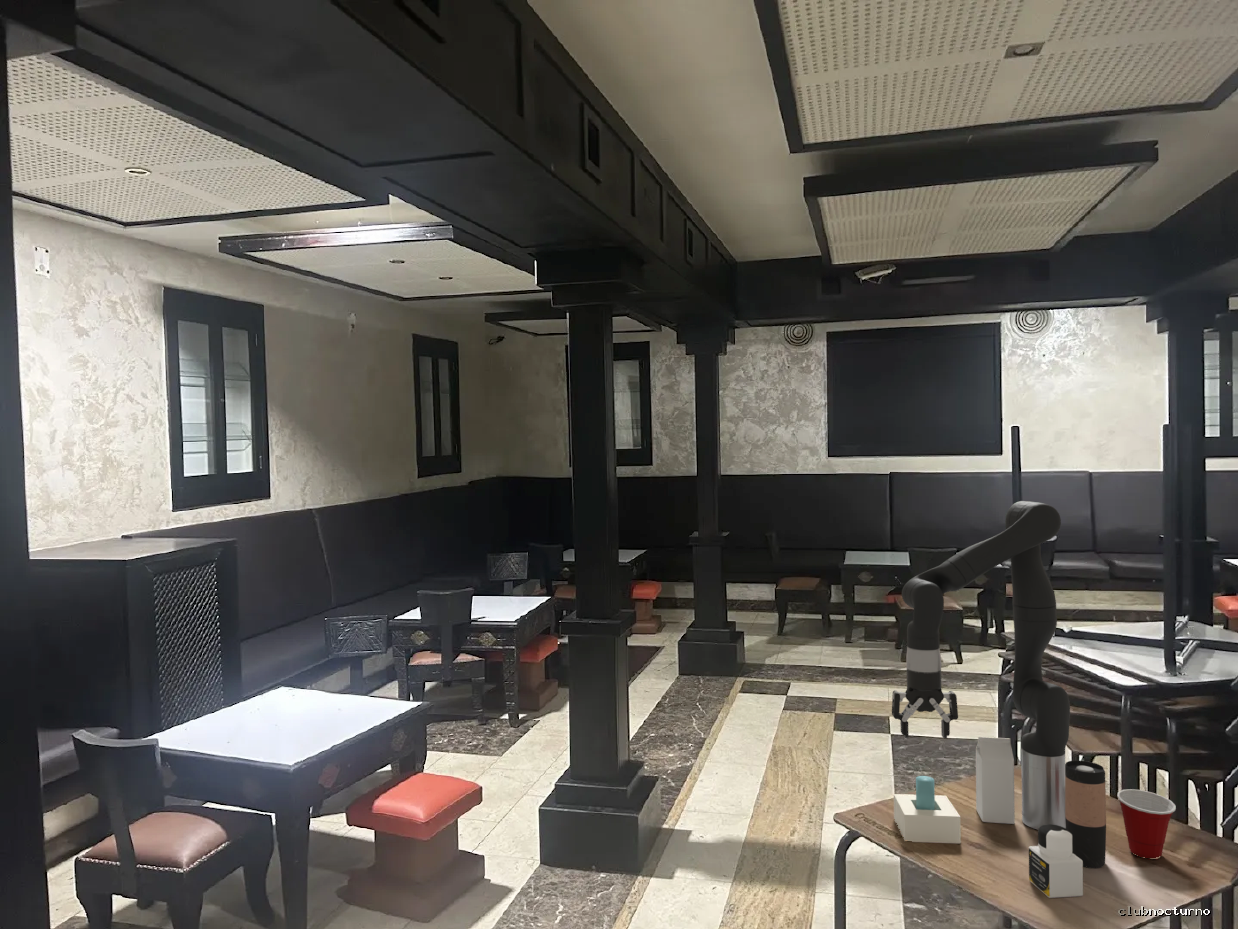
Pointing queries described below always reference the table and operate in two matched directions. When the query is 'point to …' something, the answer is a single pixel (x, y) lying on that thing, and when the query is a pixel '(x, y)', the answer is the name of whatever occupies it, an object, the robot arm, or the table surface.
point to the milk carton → (995, 780)
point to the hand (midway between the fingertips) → (925, 737)
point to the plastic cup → (1145, 821)
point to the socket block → (927, 820)
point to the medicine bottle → (1055, 863)
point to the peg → (925, 793)
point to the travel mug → (1086, 811)
